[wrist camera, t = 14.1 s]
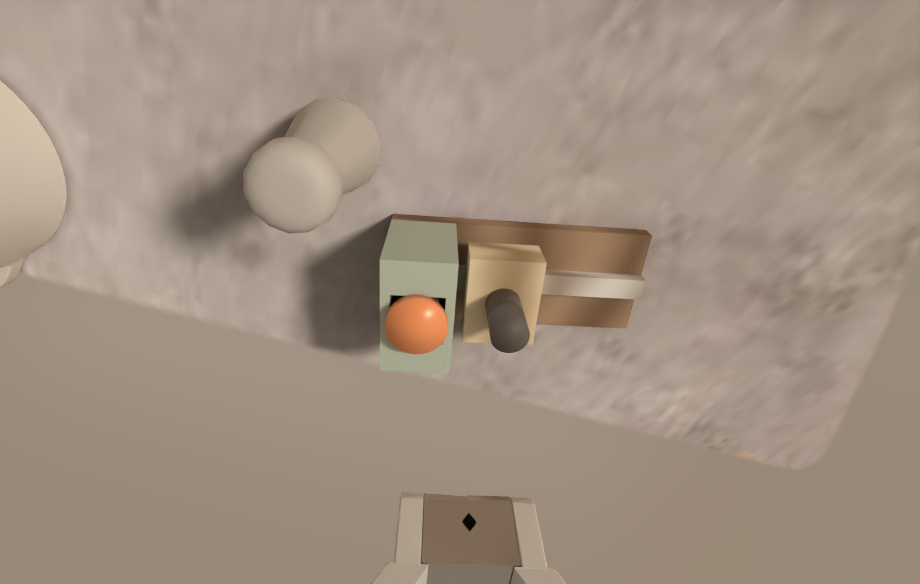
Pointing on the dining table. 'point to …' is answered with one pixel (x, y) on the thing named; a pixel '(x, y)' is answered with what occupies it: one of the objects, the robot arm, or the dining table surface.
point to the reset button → (416, 324)
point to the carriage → (502, 294)
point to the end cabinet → (418, 286)
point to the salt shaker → (312, 166)
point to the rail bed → (566, 267)
